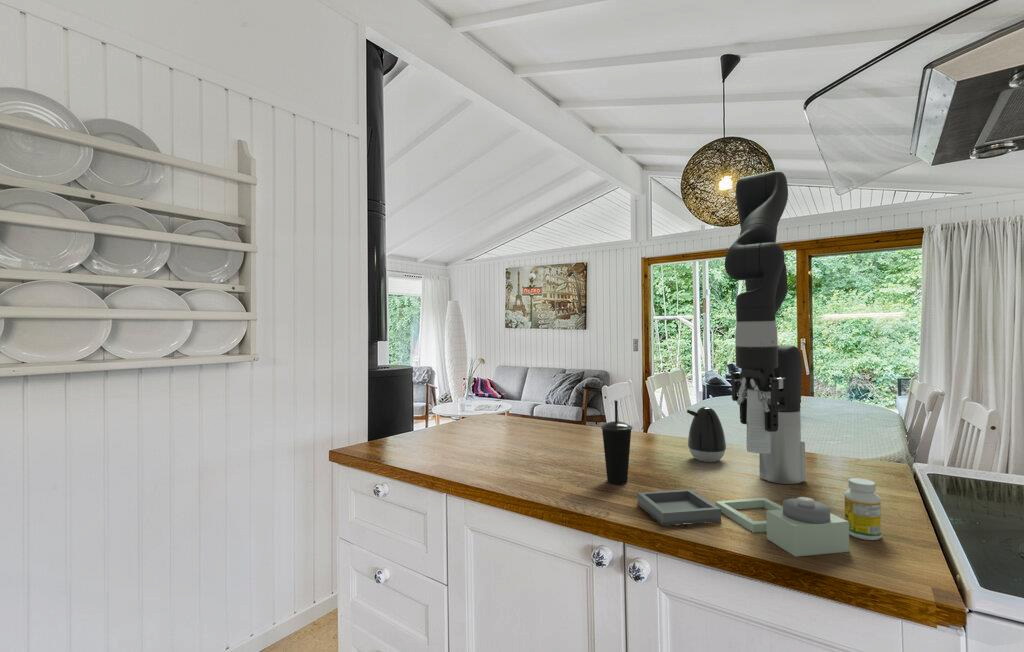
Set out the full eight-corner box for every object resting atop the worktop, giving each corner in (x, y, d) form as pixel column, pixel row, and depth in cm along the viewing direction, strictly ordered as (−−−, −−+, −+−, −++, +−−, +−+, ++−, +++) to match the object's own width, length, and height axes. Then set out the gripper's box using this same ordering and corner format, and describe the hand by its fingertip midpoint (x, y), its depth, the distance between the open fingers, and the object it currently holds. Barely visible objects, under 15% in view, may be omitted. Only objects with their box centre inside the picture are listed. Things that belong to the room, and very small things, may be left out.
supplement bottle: (880, 543, 84) (879, 488, 84) (843, 535, 88) (842, 482, 88) (882, 533, 88) (881, 480, 88) (846, 526, 92) (845, 475, 92)
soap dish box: (765, 504, 103) (764, 468, 104) (852, 551, 82) (851, 504, 82) (715, 508, 102) (714, 471, 102) (791, 556, 80) (790, 509, 80)
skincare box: (746, 445, 100) (744, 386, 101) (770, 447, 99) (769, 387, 99) (746, 452, 95) (745, 390, 95) (773, 454, 93) (771, 391, 93)
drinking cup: (627, 488, 116) (625, 403, 116) (597, 483, 120) (595, 401, 120) (637, 479, 122) (636, 399, 122) (608, 475, 126) (607, 398, 126)
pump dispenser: (683, 455, 145) (683, 404, 145) (720, 455, 144) (719, 404, 144) (691, 464, 135) (690, 409, 135) (731, 465, 134) (730, 409, 134)
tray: (689, 500, 107) (689, 489, 107) (721, 521, 95) (721, 508, 95) (637, 504, 105) (637, 492, 105) (663, 526, 93) (663, 513, 93)
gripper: (799, 344, 90) (801, 434, 90) (750, 342, 104) (752, 419, 104) (762, 346, 89) (765, 436, 89) (718, 343, 103) (720, 421, 103)
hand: (758, 427), depth 97 cm, fingers closed on skincare box, 7 cm apart
